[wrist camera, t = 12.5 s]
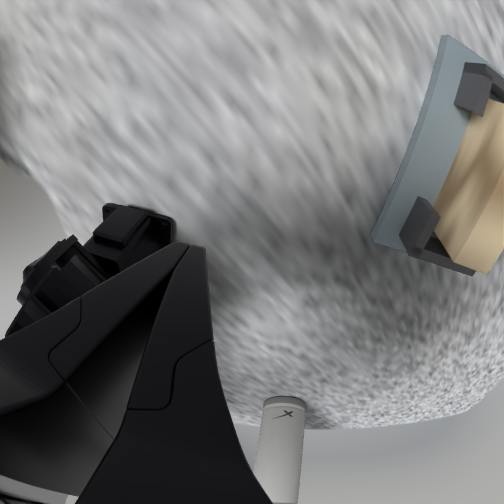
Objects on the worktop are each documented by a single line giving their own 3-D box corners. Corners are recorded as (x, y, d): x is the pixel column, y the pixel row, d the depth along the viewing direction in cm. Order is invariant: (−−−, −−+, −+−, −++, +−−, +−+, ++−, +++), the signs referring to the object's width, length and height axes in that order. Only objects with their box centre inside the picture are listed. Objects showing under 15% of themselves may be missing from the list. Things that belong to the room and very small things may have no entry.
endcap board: (460, 265, 20) (476, 291, 17) (370, 235, 20) (380, 263, 17) (531, 106, 11) (559, 117, 8) (441, 35, 10) (468, 32, 8)
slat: (457, 233, 17) (486, 274, 13) (425, 219, 17) (453, 262, 13) (508, 120, 12) (552, 141, 7) (477, 95, 11) (523, 110, 7)
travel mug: (284, 391, 35) (266, 529, 19) (314, 405, 37) (304, 528, 21) (253, 401, 38) (231, 523, 22) (283, 414, 40) (269, 526, 24)
